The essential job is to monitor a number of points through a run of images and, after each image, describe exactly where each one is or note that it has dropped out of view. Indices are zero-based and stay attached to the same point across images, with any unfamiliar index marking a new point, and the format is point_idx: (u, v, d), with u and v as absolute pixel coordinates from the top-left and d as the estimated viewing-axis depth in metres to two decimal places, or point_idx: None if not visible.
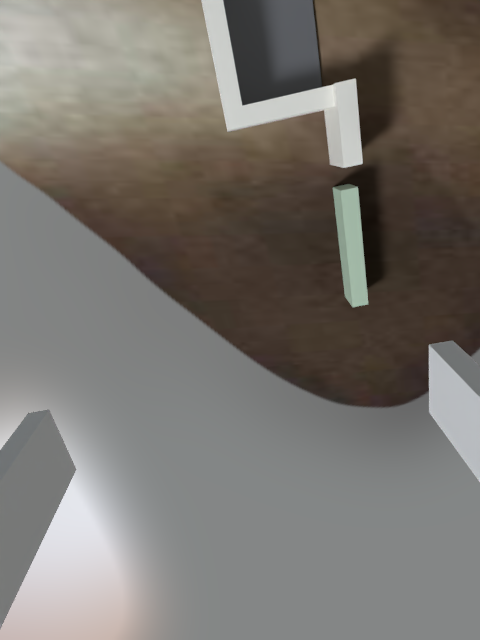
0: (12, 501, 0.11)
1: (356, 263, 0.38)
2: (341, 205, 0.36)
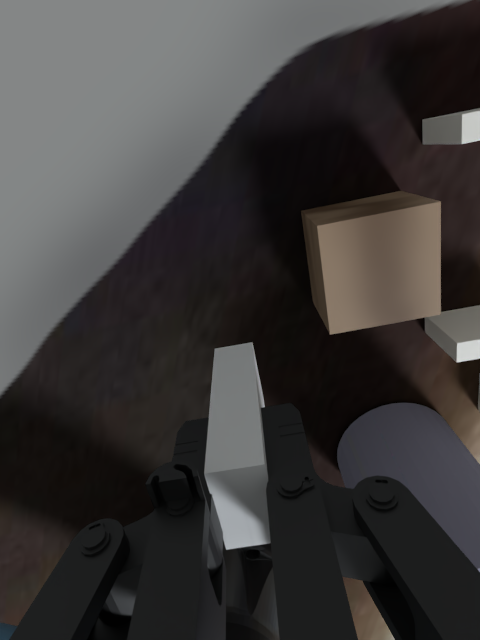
0: None
1: None
2: None
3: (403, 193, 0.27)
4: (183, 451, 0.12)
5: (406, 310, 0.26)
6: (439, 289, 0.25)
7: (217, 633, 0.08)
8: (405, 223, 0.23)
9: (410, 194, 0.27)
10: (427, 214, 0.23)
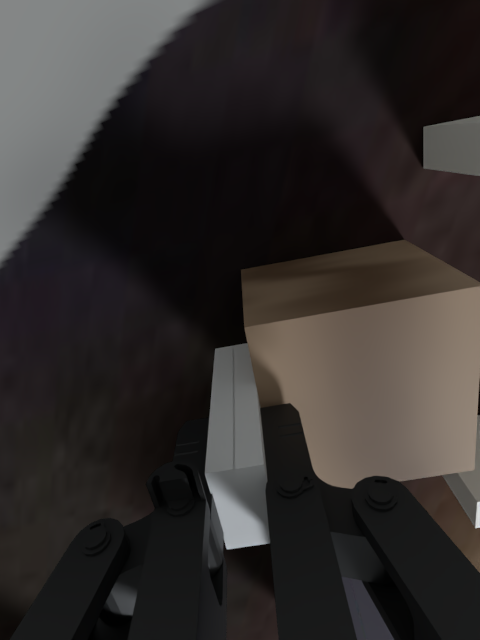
0: None
1: None
2: None
3: (410, 248, 0.16)
4: (184, 451, 0.12)
5: (413, 464, 0.14)
6: (474, 432, 0.14)
7: (218, 633, 0.08)
8: (415, 324, 0.12)
9: (422, 252, 0.15)
10: (457, 308, 0.12)
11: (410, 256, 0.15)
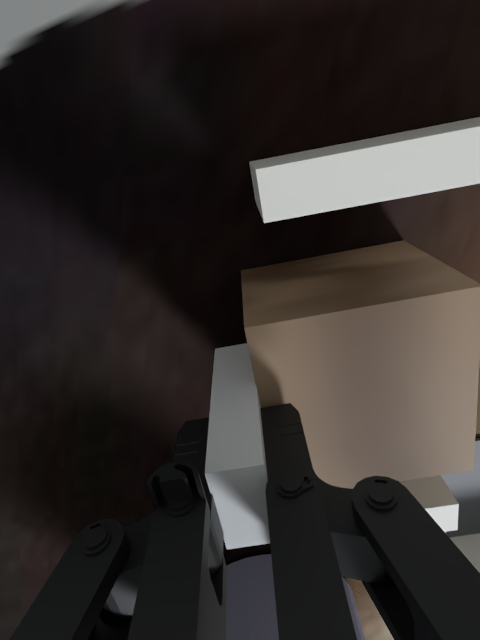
0: None
1: None
2: None
3: (409, 248, 0.16)
4: (184, 451, 0.12)
5: (412, 464, 0.14)
6: (473, 432, 0.14)
7: (217, 633, 0.08)
8: (414, 325, 0.12)
9: (421, 253, 0.15)
10: (456, 308, 0.12)
11: (409, 257, 0.15)
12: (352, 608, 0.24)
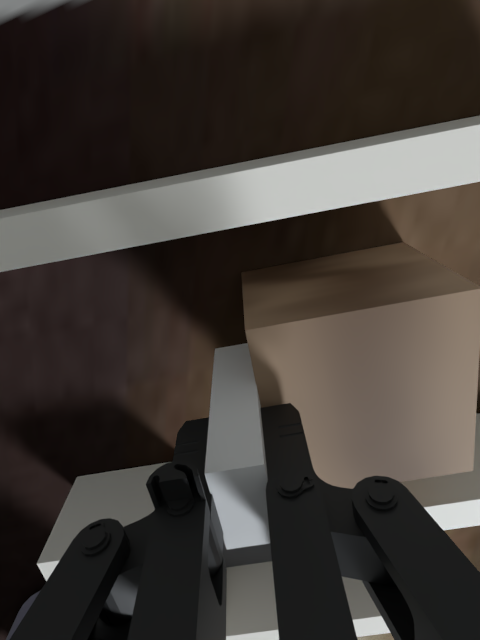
0: None
1: None
2: None
3: (409, 250, 0.16)
4: (183, 451, 0.12)
5: (412, 464, 0.14)
6: (472, 433, 0.14)
7: (217, 633, 0.08)
8: (413, 326, 0.12)
9: (421, 255, 0.15)
10: (456, 310, 0.12)
11: (409, 259, 0.15)
12: None
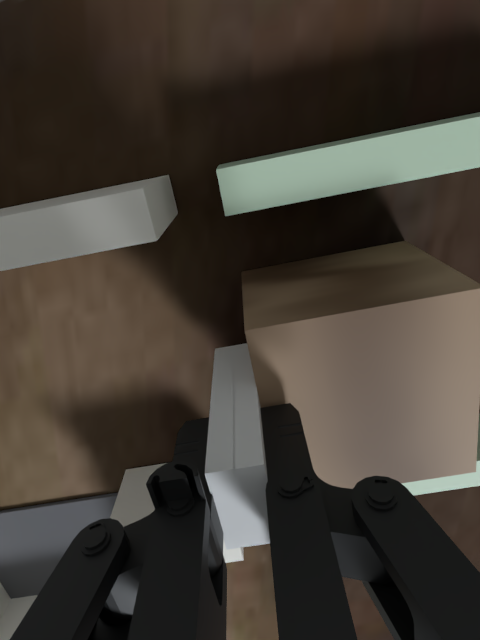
0: None
1: (430, 480, 0.19)
2: None
3: (410, 249, 0.16)
4: (183, 451, 0.12)
5: (414, 466, 0.14)
6: (475, 434, 0.14)
7: (217, 633, 0.08)
8: (415, 326, 0.12)
9: (423, 254, 0.15)
10: (458, 310, 0.12)
11: (411, 257, 0.15)
12: None
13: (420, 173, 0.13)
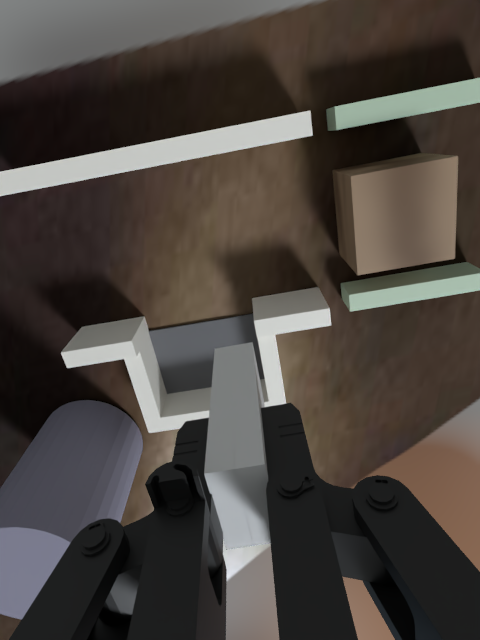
0: None
1: (432, 289, 0.34)
2: None
3: (424, 154, 0.31)
4: (183, 451, 0.12)
5: (425, 254, 0.29)
6: (454, 235, 0.29)
7: (217, 633, 0.08)
8: (427, 175, 0.27)
9: (430, 154, 0.30)
10: (446, 167, 0.27)
11: (424, 155, 0.30)
12: (127, 430, 0.40)
13: (430, 109, 0.28)
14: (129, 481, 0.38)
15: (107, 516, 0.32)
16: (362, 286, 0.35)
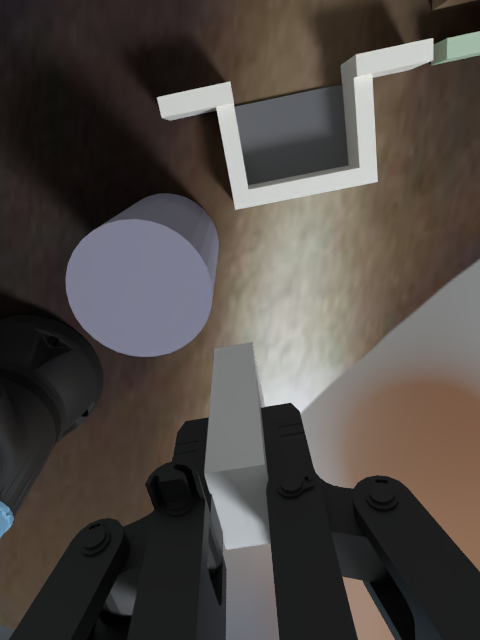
0: None
1: None
2: (461, 56, 0.34)
3: None
4: (183, 451, 0.12)
5: None
6: None
7: (217, 633, 0.08)
8: None
9: None
10: None
11: None
12: (208, 220, 0.40)
13: None
14: (216, 257, 0.37)
15: (209, 254, 0.32)
16: None
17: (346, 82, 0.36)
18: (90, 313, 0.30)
